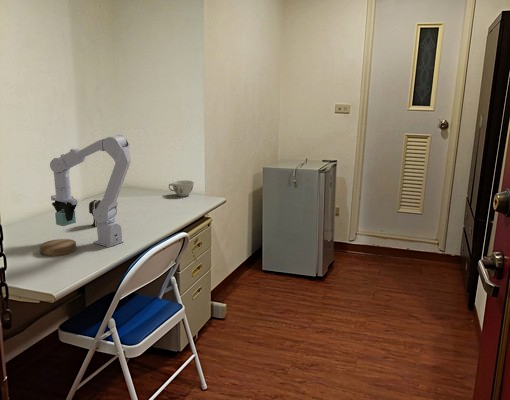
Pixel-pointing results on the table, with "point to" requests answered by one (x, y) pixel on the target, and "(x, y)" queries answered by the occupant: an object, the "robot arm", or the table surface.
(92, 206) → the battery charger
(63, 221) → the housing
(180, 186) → the teacup
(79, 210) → the table surface
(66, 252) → the stand
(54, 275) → the table surface
